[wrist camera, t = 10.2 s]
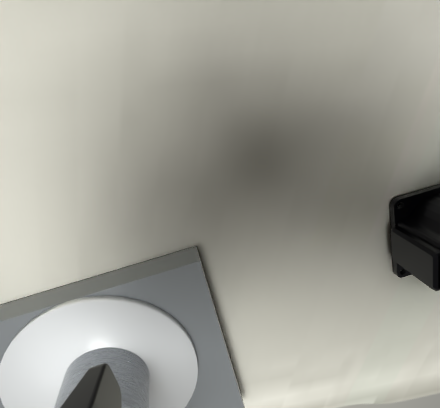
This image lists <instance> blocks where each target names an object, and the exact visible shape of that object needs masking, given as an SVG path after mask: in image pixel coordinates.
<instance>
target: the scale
mask: <svg viewBox="0 0 440 408" xmlns="http://www.w3.org/2000/svg"><path fill="white" fill-rule="evenodd" d="M106 347H114V348H122V349H125V350H128V351H131V352H133V353H135V354H136V355H138V356H139V357H140V358H141V359H142V360H143V361H144V362H145V363H146V365H147V367H148V370H149V374H150V382H149V408H245V407H244V403H243V400H242V396H241V392H240V389H239V386H238V382H237V379H236V376H235V372H234V369H233V366H232V362H231V359H230V356H229V352H228V349H227V346H226V343H225V339H224V336H223V333H222V329H221V326H220V323H219V319H218V316H217V313H216V309H215V306H214V303H213V299H212V296H211V293H210V290H209V286H208V283H207V280H206V276H205V273H204V270H203V266H202V263H201V260H200V256H199V253H198V250H197V246H195V247H192V248H188V249H185V250H182V251H178V252H175V253H172V254H168V255H165V256H162V257H158V258H155V259H152V260H148V261H145V262H142V263H138V264H135V265H132V266H128V267H125V268H122V269H118V270H115V271H112V272H108V273H105V274H102V275H98V276H95V277H92V278H88V279H85V280H82V281H78V282H75V283H72V284H68V285H65V286H62V287H58V288H55V289H52V290H48V291H45V292H42V293H38V294H35V295H32V296H28V297H25V298H22V299H18V300H15V301H11V302H8V303H5V304H1V305H0V408H54V406H55V403H56V400H57V397H58V394H59V391H60V388H61V384H62V381H63V378H64V375H65V372H66V370H67V368H68V367H69V365H70V364H71V363H72V362H73V361H74V360H75V359H76V358H78V357H79V356H81V355H82V354H84V353H86V352H88V351H91V350H94V349H98V348H106Z"/></svg>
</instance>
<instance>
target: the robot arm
mask: <svg viewBox="0 0 440 408" xmlns="http://www.w3.org/2000/svg"><path fill="white" fill-rule="evenodd" d="M399 203H400V205H399V206H398V204H399ZM397 206H398V207H397ZM390 211H391V248H392V260H393V271H394V273H395V274H396V275H397V276H398V277H405V276H409V275H414V276H415V277H417V278H418V279H419V280H421V281H422V282H423V283H425V284H426V285H427V286H429V287H430V288H431V289H433V290H435V291H438V290H440V184H439V185H436V186H433V187H429V188H426V189H423V190H420V191H416V192H413V193H410V194H406V195H403V196H400V197H396V198H394V199H393V200H392V202H391V204H390ZM60 408H122V399H121V390H120V386H119V384H118V382H117V380H116V378H115V376H114V374H113V372H112V370H111V368H110V366H109V365H108V364H107V363H103V364H100V365H97V366H94V367H91V368H90V369H88V371H87V372H86V373H85V375H84V376H83V377H82V379H81V380H80V381H79V383H78V384H77V385H76V387H75V388H74V389H73V391H72V392H71V393H70V395H69V396H68V398H67V399H66V400H65V402H64V403H63V404H62V406H61V407H60Z"/></svg>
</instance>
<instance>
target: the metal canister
mask: <svg viewBox="0 0 440 408" xmlns="http://www.w3.org/2000/svg"><path fill="white" fill-rule="evenodd" d="M103 363H107V364H108V365H109V366H110V368H111V370H112V372H113V374H114V376H115V378H116V380H117V382H118V384H119V386H120V390H121V399H122V408H149V382H150V374H149V370H148V367H147V365H146V363H145V362H144V361H143V360H142V359H141V358H140V357H139V356H138V355H136V354H135V353H133V352H131V351H128V350H125V349H122V348H114V347H106V348H98V349H94V350H91V351H88V352H86V353H84V354H82V355H81V356H79V357H78V358H76V359H75V360H74V361H73V362H72V363H71V364H70V365H69V367H68V368H67V370H66V372H65V375H64V378H63V381H62V384H61V388H60V391H59V394H58V397H57V400H56V403H55V406H54V408H60V407H61V406H62V404H63V403H64V402H65V400H66V399H67V398H68V396H69V395H70V393H71V392H72V391H73V389H74V388H75V387H76V385H77V384H78V383H79V381H80V380H81V379H82V377H83V376H84V375H85V373H86V372H87V371H88V369H90V368H91V367H94V366H97V365H100V364H103Z"/></svg>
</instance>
